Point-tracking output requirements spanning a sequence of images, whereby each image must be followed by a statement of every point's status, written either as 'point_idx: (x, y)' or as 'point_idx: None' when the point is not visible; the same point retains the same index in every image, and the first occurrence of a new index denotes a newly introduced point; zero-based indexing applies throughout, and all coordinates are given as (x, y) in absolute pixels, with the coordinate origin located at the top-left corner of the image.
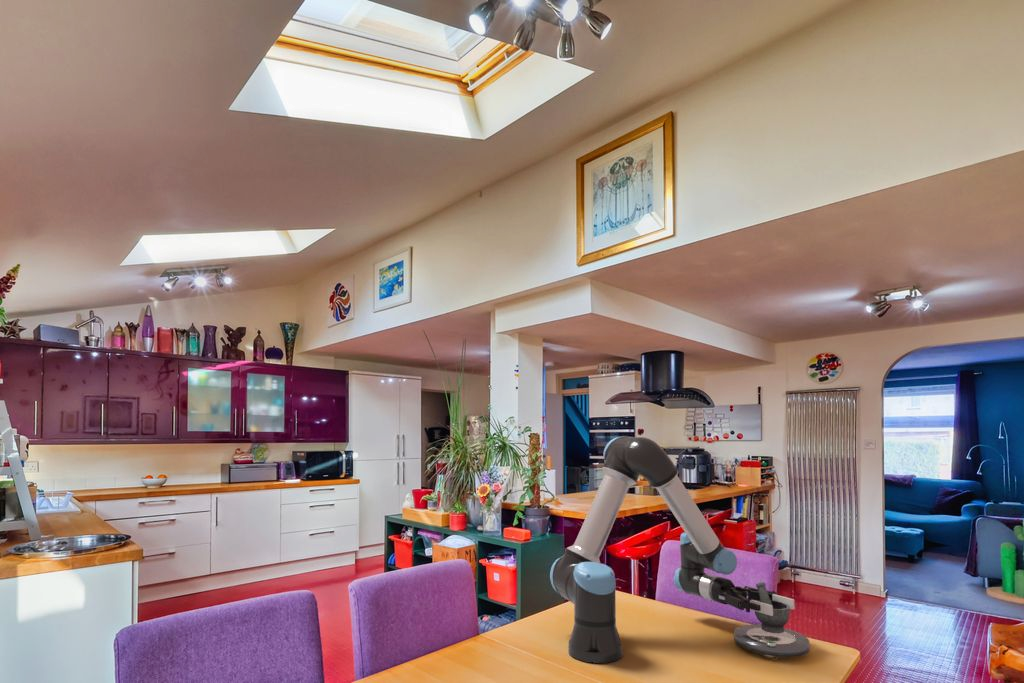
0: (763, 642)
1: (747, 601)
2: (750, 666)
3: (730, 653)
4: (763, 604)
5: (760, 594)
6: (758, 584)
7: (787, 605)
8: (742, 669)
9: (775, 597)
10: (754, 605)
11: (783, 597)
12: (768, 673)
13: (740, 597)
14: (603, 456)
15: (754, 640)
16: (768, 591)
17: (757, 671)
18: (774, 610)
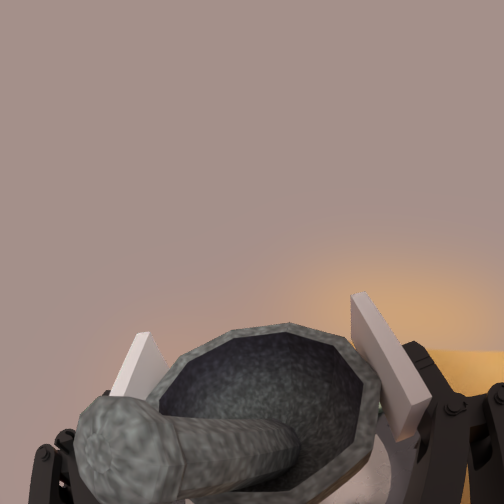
0: (375, 435)
1: (458, 397)
2: (458, 389)
3: (467, 479)
4: (384, 325)
5: (233, 461)
6: (168, 448)
7: (186, 359)
8: (484, 374)
9: None
10: (429, 360)
11: (132, 373)
12: (434, 353)
13: (460, 501)
14: None
15: (396, 458)
16: (42, 488)
17: (455, 363)
18: (325, 336)
